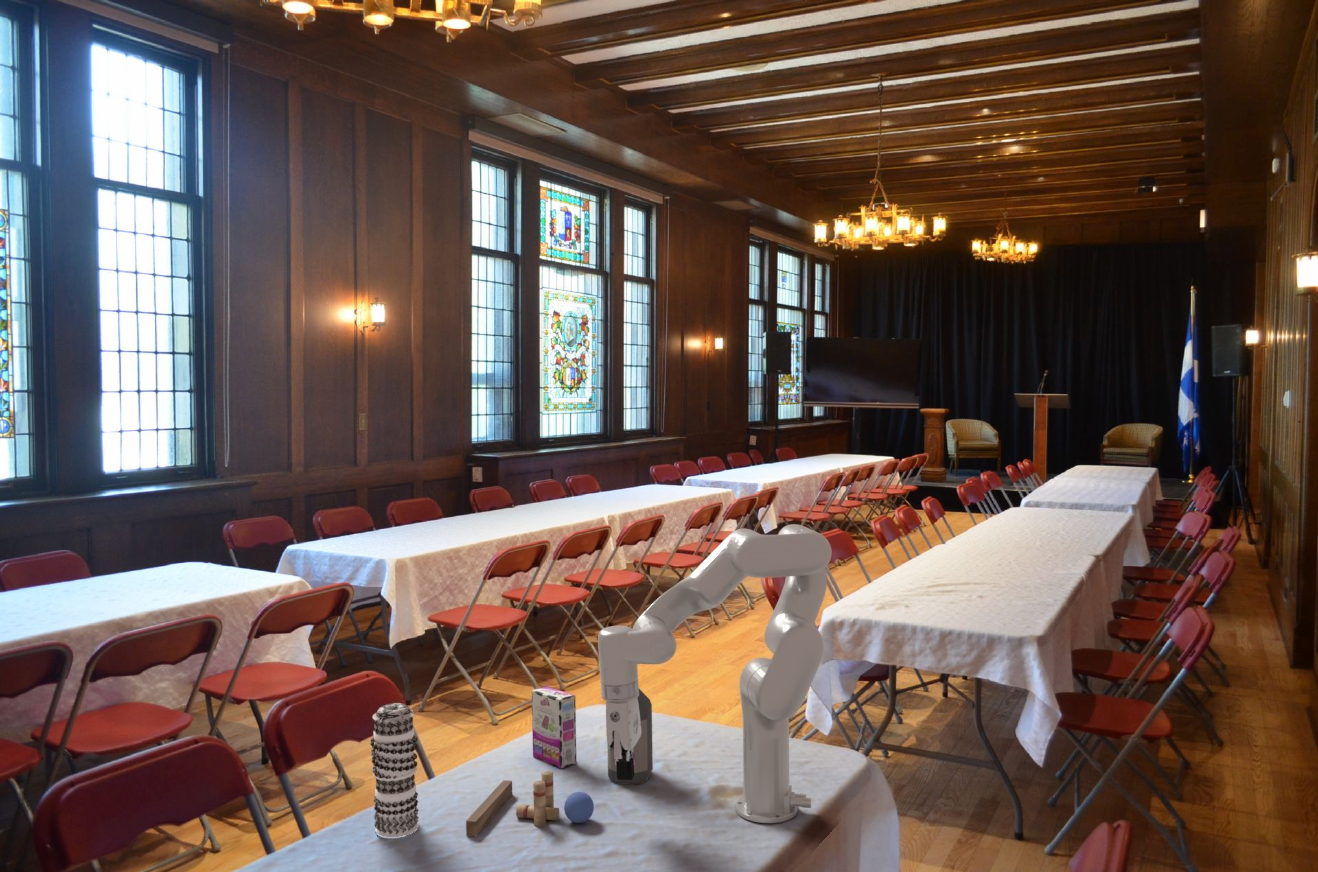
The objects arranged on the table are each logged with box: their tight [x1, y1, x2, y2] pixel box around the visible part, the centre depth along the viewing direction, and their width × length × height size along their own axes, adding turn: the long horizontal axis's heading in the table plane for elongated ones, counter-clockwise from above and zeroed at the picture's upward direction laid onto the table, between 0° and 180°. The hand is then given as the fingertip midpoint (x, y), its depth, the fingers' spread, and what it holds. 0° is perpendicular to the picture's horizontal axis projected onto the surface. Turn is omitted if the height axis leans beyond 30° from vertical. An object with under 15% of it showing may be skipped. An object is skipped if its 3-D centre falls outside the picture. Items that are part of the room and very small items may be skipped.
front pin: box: [515, 804, 560, 821], centre depth 200 cm, size 2×2×8 cm
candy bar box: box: [531, 685, 577, 769], centre depth 231 cm, size 11×5×16 cm, turn 45°
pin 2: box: [541, 770, 555, 808], centre depth 202 cm, size 2×2×8 cm
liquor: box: [607, 688, 654, 786], centre depth 220 cm, size 9×9×30 cm
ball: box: [563, 791, 595, 824], centre depth 198 cm, size 6×6×6 cm
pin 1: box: [532, 780, 547, 828], centre depth 198 cm, size 2×2×8 cm
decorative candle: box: [370, 702, 420, 837], centre depth 196 cm, size 9×9×25 cm
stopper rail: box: [465, 779, 513, 837], centre depth 203 cm, size 2×20×3 cm, turn 168°
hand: (625, 777), depth 196 cm, fingers closed
